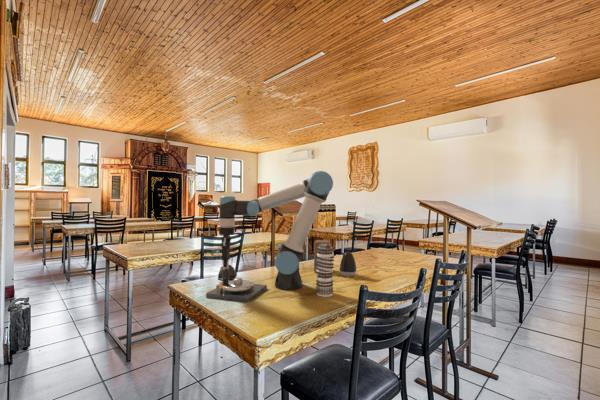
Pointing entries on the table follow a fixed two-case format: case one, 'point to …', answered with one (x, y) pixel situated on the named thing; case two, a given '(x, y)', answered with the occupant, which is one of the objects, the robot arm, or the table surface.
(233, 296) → the clock base
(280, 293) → the table surface
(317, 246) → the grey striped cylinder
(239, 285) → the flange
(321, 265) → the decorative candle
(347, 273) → the dark grey tapered dome
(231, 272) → the fossil
